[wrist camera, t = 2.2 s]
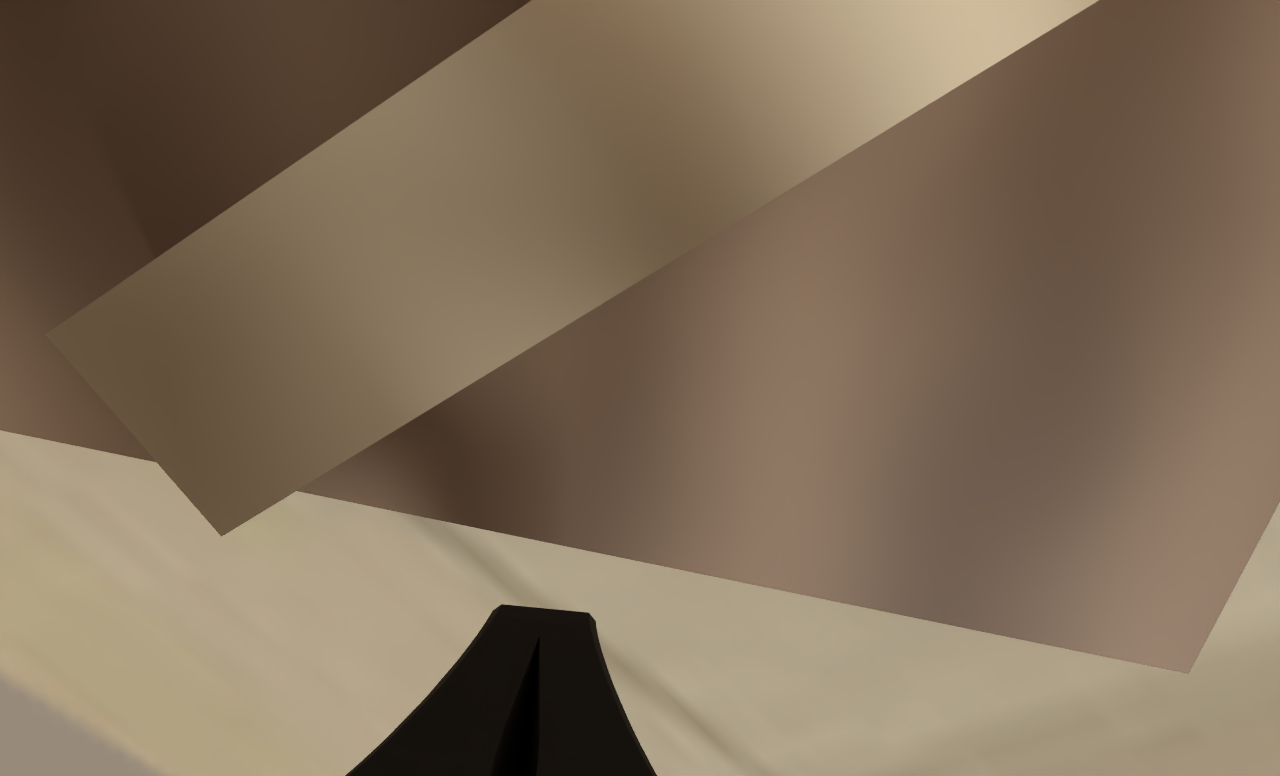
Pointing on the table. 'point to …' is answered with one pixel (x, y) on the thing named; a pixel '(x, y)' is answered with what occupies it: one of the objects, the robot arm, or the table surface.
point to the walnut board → (767, 314)
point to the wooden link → (498, 216)
